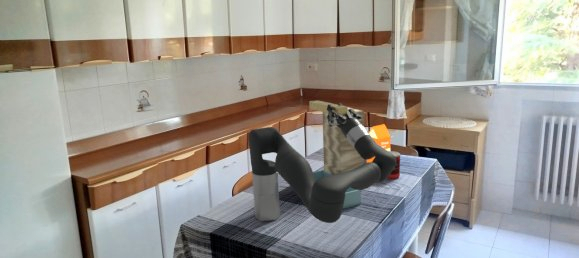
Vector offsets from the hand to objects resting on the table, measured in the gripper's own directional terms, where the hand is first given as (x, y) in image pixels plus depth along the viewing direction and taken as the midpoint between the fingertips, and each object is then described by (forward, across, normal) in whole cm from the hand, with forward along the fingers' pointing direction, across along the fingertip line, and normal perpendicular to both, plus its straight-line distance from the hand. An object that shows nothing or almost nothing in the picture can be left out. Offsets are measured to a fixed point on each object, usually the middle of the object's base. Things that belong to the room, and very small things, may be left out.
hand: (333, 105), depth 158 cm
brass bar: (+3, 0, +5) cm, 5 cm away
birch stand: (-5, -14, +40) cm, 43 cm away
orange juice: (+3, -41, +45) cm, 61 cm away
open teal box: (-15, 0, +35) cm, 38 cm away
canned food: (-11, -35, +37) cm, 52 cm away
